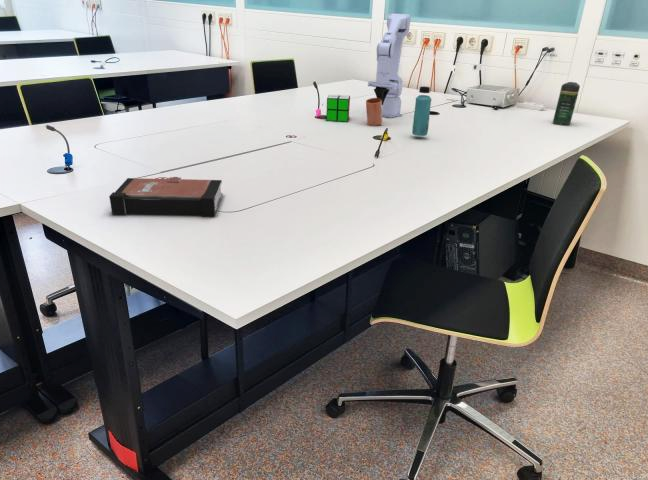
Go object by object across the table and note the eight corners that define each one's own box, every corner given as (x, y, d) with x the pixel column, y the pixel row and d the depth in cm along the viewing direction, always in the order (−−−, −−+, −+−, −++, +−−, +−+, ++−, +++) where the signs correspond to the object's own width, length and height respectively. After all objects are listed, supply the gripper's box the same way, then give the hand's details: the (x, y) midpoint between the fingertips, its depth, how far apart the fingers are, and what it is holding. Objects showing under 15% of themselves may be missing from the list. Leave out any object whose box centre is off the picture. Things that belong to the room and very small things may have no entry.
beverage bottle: (426, 140, 222) (433, 88, 212) (410, 138, 223) (416, 87, 213) (427, 136, 227) (433, 86, 217) (411, 135, 228) (417, 85, 218)
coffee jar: (568, 126, 255) (579, 84, 246) (551, 124, 258) (561, 82, 249) (571, 122, 262) (582, 82, 253) (554, 120, 265) (564, 80, 256)
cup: (373, 118, 248) (372, 97, 242) (385, 121, 244) (384, 99, 238) (364, 124, 245) (362, 102, 239) (376, 126, 241) (374, 104, 235)
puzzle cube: (349, 117, 256) (350, 95, 251) (347, 122, 248) (349, 99, 243) (327, 116, 257) (328, 94, 252) (326, 120, 248) (326, 97, 243)
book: (223, 194, 156) (222, 177, 153) (214, 216, 141) (213, 198, 138) (130, 192, 154) (128, 175, 152) (112, 214, 139) (109, 196, 137)
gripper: (364, 71, 238) (362, 103, 245) (391, 75, 229) (388, 108, 236) (374, 70, 242) (371, 102, 249) (400, 74, 234) (397, 106, 241)
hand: (380, 105), depth 243 cm, fingers closed
